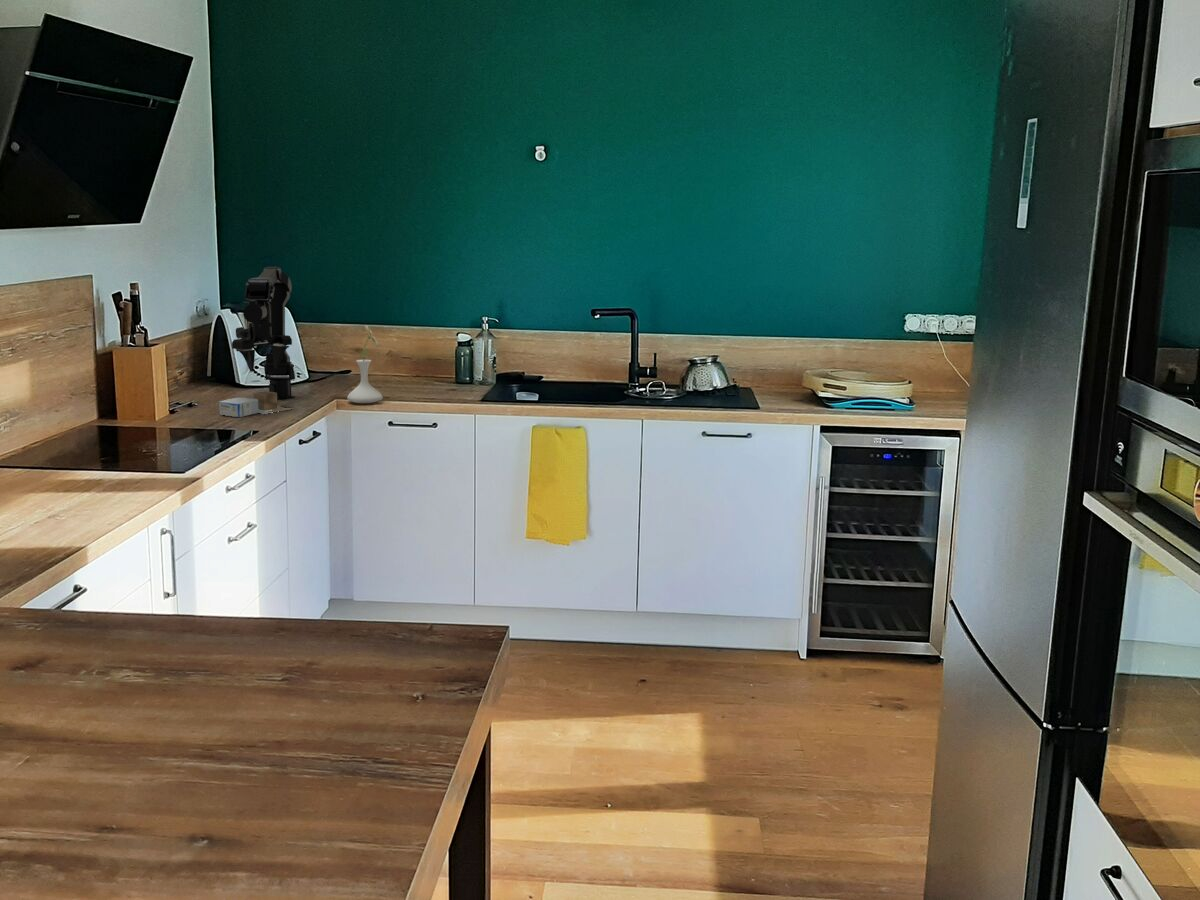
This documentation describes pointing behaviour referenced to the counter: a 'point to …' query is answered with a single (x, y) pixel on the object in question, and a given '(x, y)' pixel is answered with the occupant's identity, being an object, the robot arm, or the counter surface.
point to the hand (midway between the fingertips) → (263, 369)
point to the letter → (265, 411)
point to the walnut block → (266, 400)
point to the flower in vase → (365, 379)
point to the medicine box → (238, 407)
